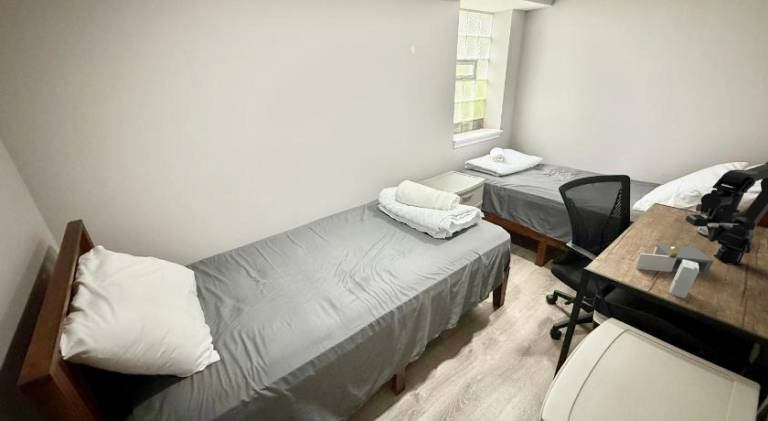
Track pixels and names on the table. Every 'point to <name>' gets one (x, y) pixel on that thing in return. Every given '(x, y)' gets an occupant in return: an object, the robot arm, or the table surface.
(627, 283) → the table surface
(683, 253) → the case
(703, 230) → the ink bottle
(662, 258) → the side door
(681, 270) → the skincare box
